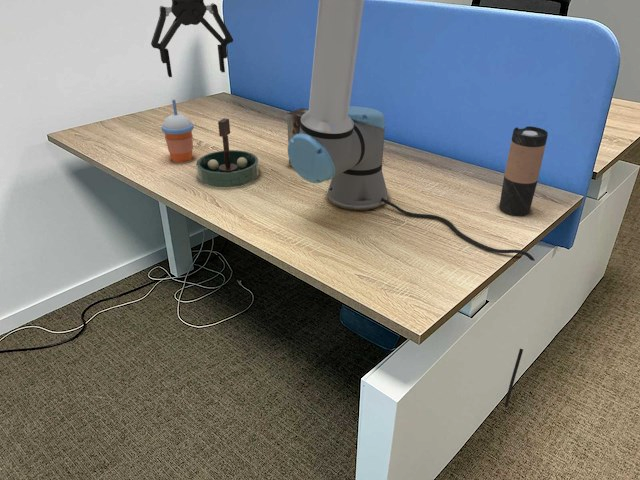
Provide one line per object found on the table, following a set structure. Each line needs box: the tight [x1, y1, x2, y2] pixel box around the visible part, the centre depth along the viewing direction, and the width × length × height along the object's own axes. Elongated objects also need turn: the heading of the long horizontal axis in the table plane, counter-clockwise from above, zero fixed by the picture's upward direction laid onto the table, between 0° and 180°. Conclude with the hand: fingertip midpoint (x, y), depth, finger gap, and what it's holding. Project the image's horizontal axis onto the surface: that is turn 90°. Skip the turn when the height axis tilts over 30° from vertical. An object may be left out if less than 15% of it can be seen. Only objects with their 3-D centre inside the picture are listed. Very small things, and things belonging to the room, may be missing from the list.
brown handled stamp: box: [217, 117, 238, 172], centre depth 142 cm, size 5×5×16 cm
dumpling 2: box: [237, 157, 247, 168], centre depth 150 cm, size 3×3×3 cm
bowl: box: [196, 149, 260, 188], centre depth 145 cm, size 17×17×4 cm
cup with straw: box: [161, 99, 194, 163], centre depth 152 cm, size 9×9×18 cm
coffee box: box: [286, 107, 309, 167], centre depth 148 cm, size 9×6×16 cm
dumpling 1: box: [208, 159, 218, 170], centre depth 148 cm, size 3×3×3 cm
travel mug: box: [499, 125, 549, 217], centre depth 124 cm, size 8×8×20 cm
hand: (196, 73), depth 136 cm, fingers open, 13 cm apart
